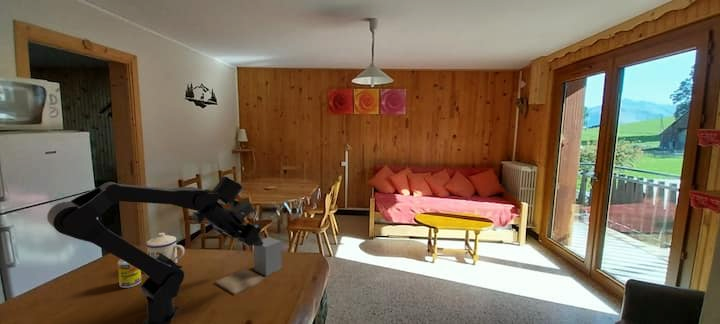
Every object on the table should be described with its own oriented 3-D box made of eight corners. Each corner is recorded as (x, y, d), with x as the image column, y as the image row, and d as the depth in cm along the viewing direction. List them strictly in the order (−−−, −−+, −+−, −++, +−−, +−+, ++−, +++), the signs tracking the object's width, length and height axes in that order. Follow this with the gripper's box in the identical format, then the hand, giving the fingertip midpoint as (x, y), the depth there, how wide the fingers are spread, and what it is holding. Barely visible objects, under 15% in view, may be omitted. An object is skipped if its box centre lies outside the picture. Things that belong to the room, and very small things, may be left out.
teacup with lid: (141, 271, 103) (139, 238, 102) (158, 259, 112) (156, 228, 111) (177, 271, 104) (175, 238, 102) (191, 259, 113) (189, 229, 111)
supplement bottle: (118, 290, 91) (115, 258, 90) (120, 282, 96) (117, 251, 94) (141, 285, 94) (139, 253, 93) (142, 277, 99) (139, 247, 98)
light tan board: (234, 295, 90) (234, 293, 90) (215, 283, 96) (214, 281, 96) (266, 280, 99) (265, 278, 98) (246, 270, 105) (245, 268, 105)
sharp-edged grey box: (266, 275, 101) (265, 247, 100) (254, 270, 105) (253, 242, 104) (281, 268, 106) (281, 241, 105) (269, 263, 110) (269, 237, 109)
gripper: (255, 199, 88) (285, 225, 98) (220, 190, 99) (251, 215, 109) (230, 232, 83) (266, 257, 93) (197, 219, 94) (231, 242, 104)
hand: (253, 241), depth 100 cm, fingers open, 9 cm apart
